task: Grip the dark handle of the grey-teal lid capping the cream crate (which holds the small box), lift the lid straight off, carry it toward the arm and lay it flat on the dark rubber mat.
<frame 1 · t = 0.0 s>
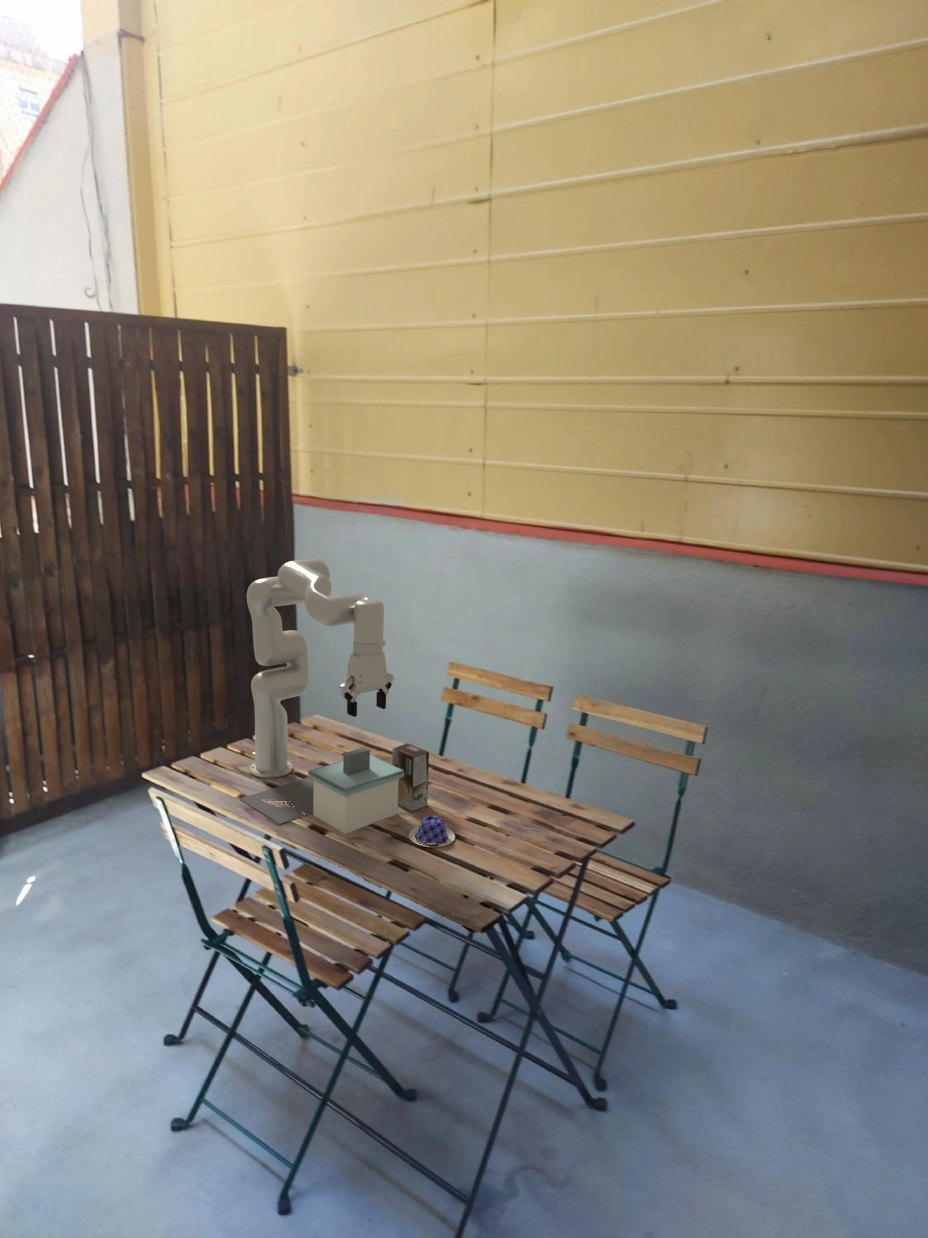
hand: (366, 711, 216), 31 cm above the table, fingers open, 9 cm apart
mat: (296, 799, 234), on the table
lid: (356, 777, 224), point 11 cm above the table, touching crate
crate: (355, 814, 226), on the table
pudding: (431, 839, 216), on the table
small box: (355, 815, 227), resting in crate
coffee box: (409, 804, 235), on the table
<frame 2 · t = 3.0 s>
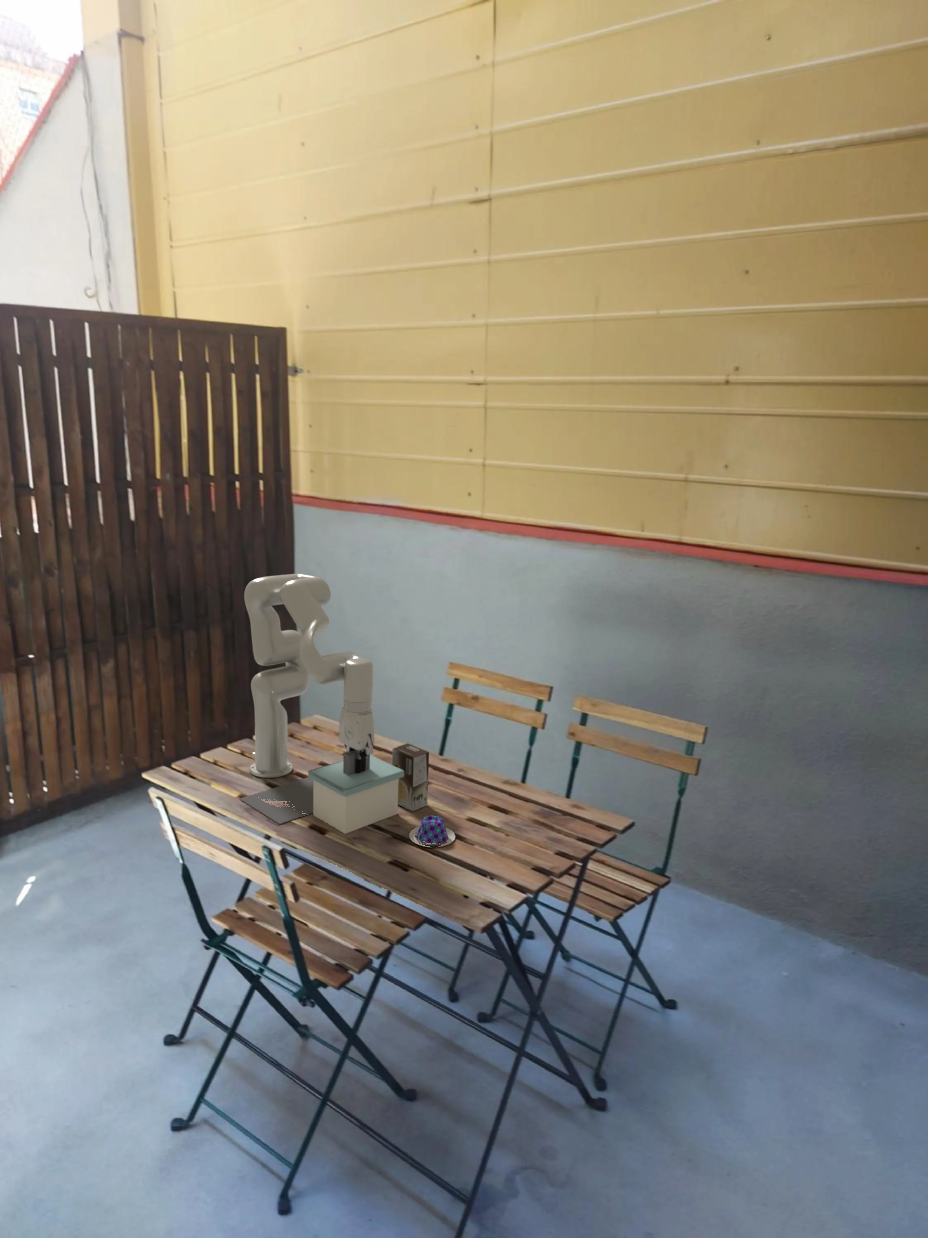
hand: (356, 769, 224), 13 cm above the table, fingers closed on lid, 2 cm apart
lid: (356, 777, 224), point 11 cm above the table, touching crate, gripper
everything else where it was.
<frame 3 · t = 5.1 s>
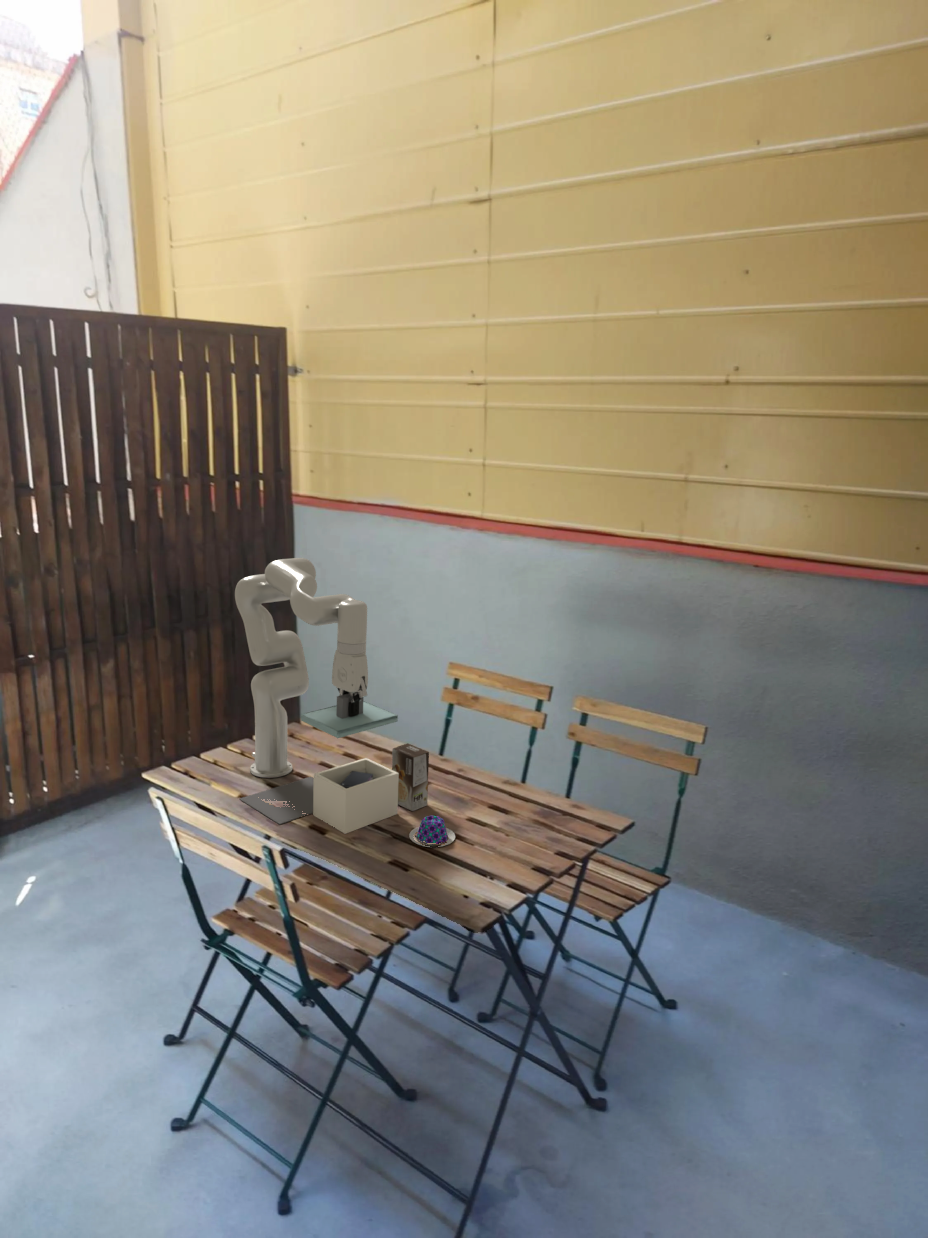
hand: (349, 713, 221), 29 cm above the table, fingers closed on lid, 2 cm apart
lid: (349, 721, 222), point 26 cm above the table, touching gripper
everything else where it was.
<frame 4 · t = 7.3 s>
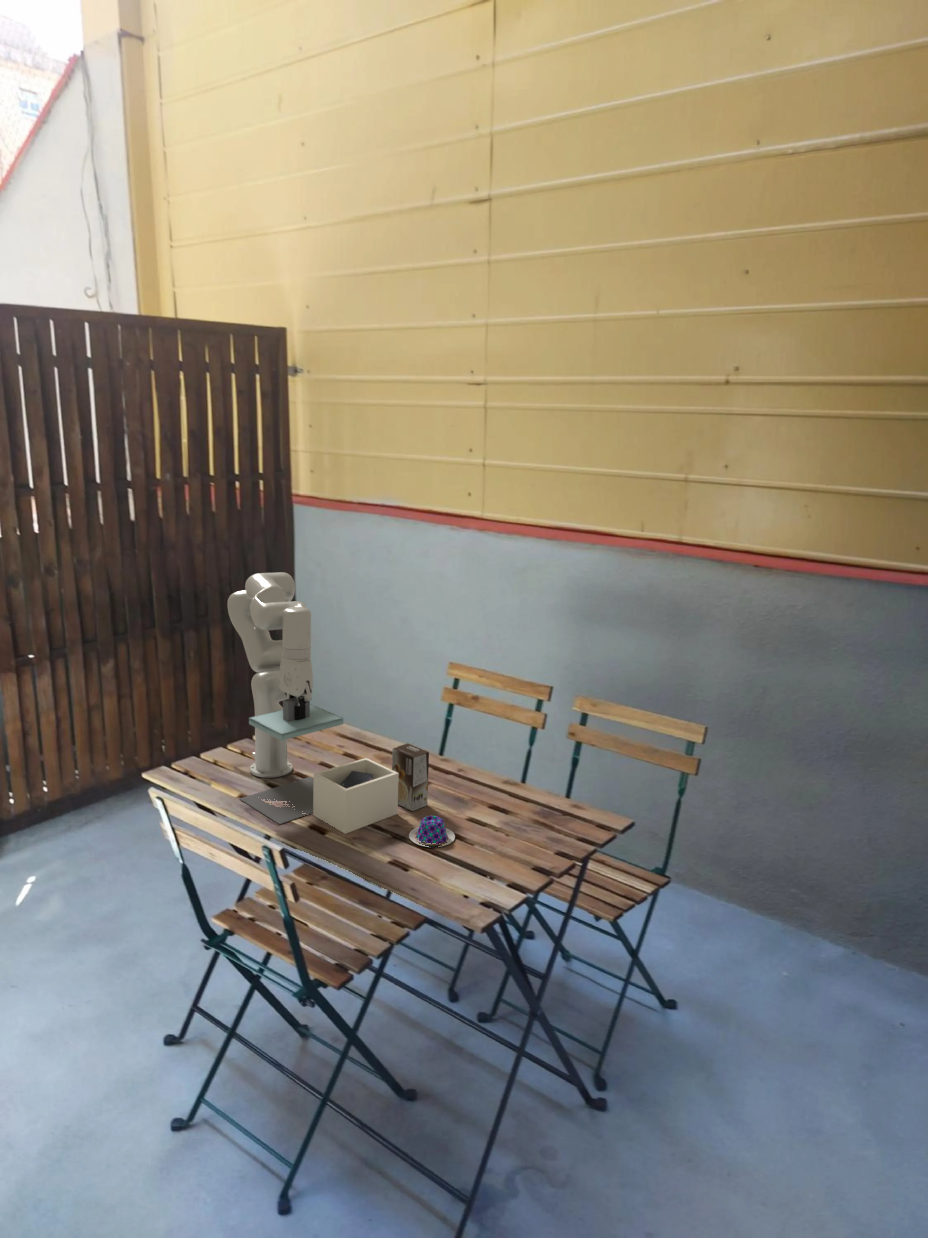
hand: (296, 716, 228), 25 cm above the table, fingers closed on lid, 2 cm apart
lid: (296, 724, 229), point 23 cm above the table, touching gripper
everything else where it was.
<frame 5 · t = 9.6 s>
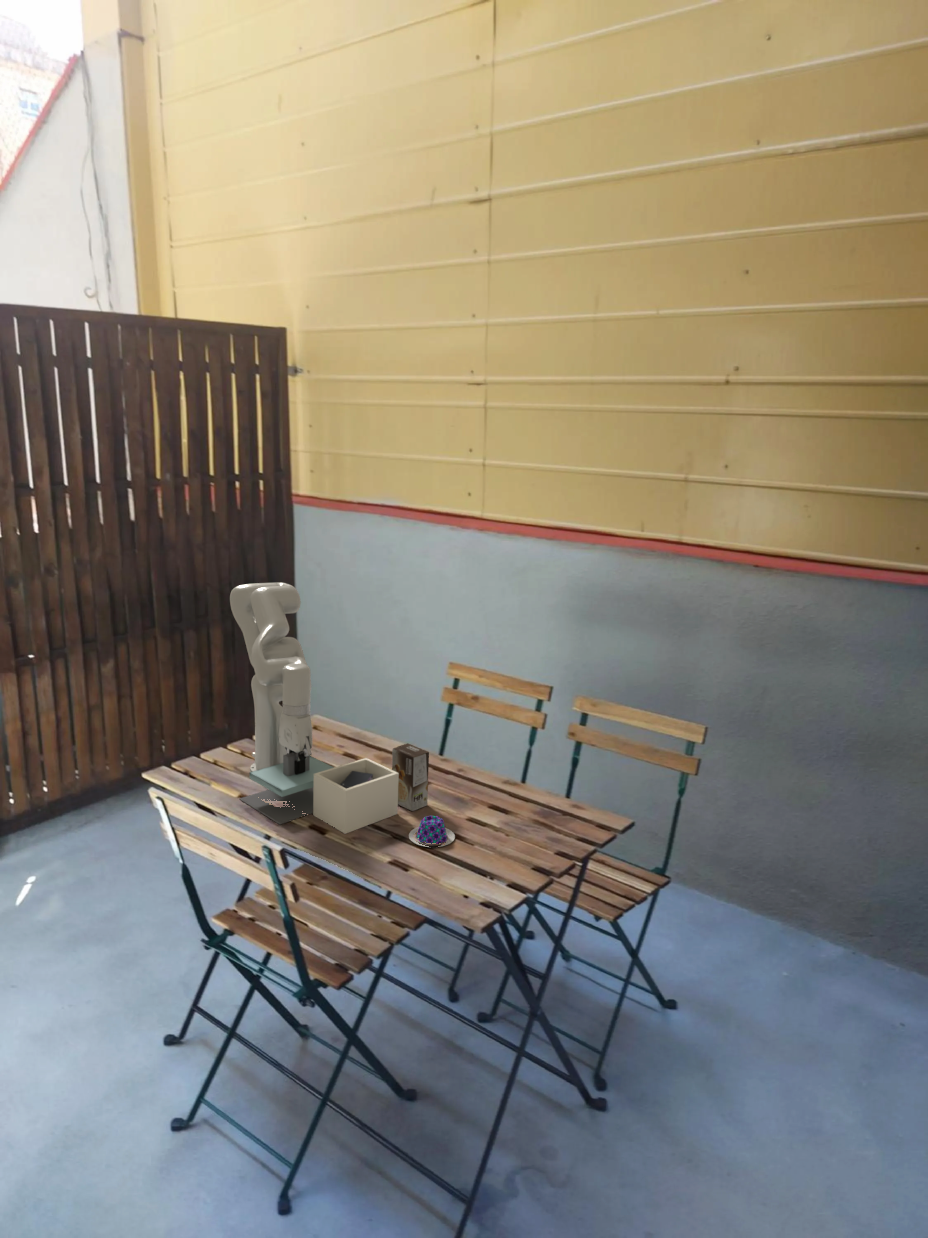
hand: (296, 771, 232), 9 cm above the table, fingers closed on lid, 2 cm apart
lid: (296, 778, 232), point 7 cm above the table, touching gripper
everything else where it was.
when the fingers open (4 cm above the table, at t = 11.5 s): lid drops 1 cm, resting on mat.
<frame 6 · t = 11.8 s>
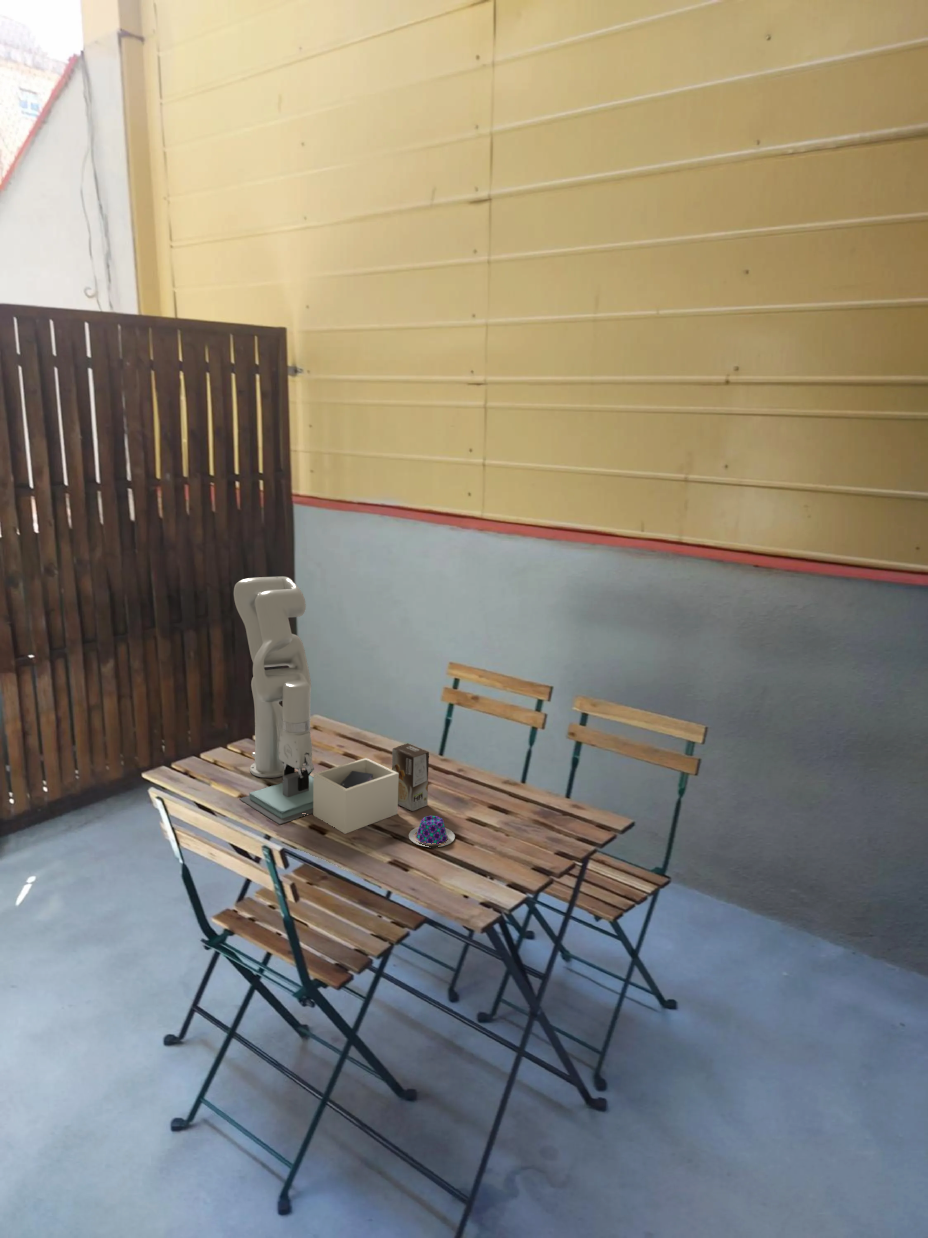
hand: (296, 785, 233), 4 cm above the table, fingers open, 6 cm apart
lid: (295, 798, 234), resting on mat
everything else where it was.
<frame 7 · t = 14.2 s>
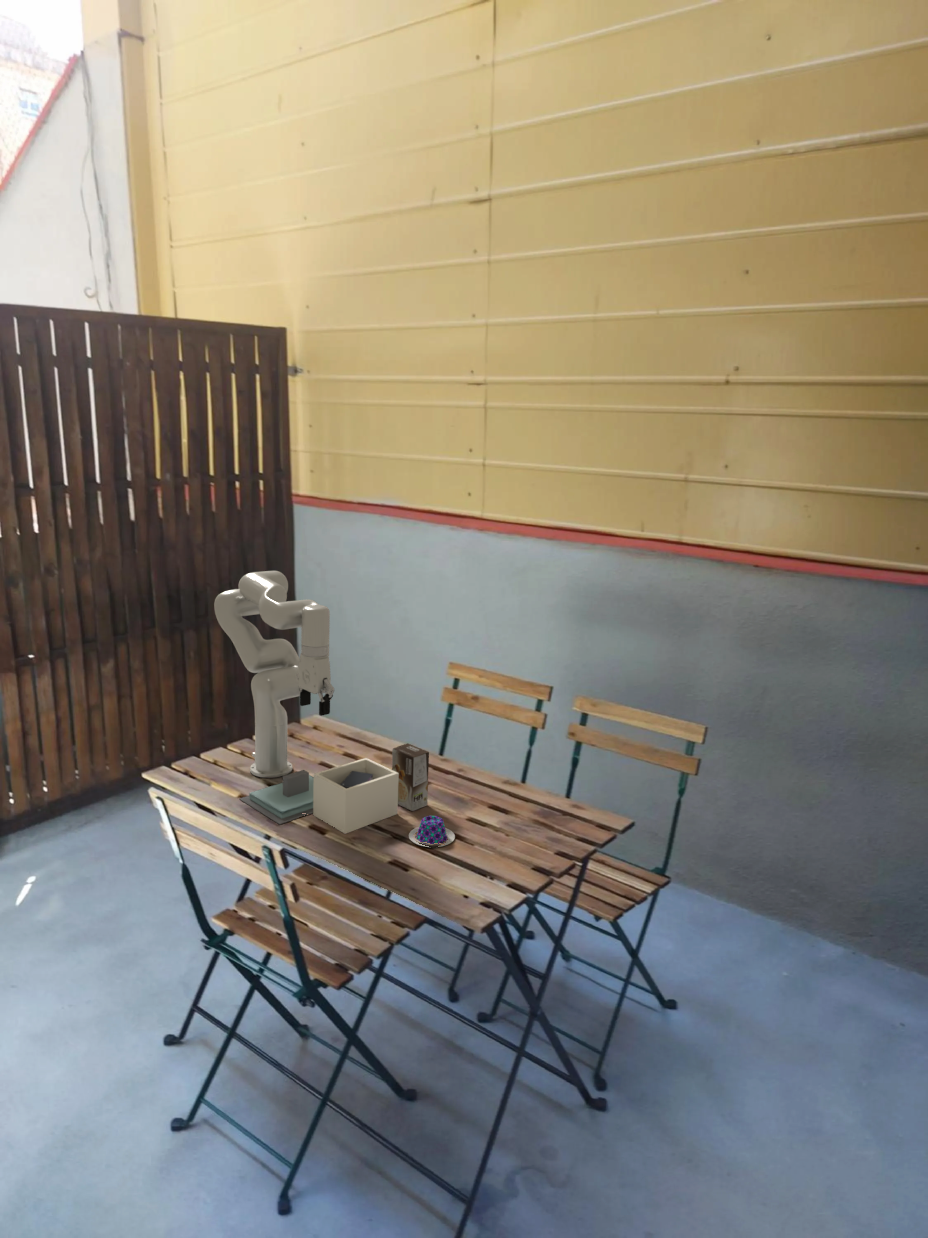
hand: (314, 709, 231), 26 cm above the table, fingers open, 9 cm apart
nothing on the table moved.
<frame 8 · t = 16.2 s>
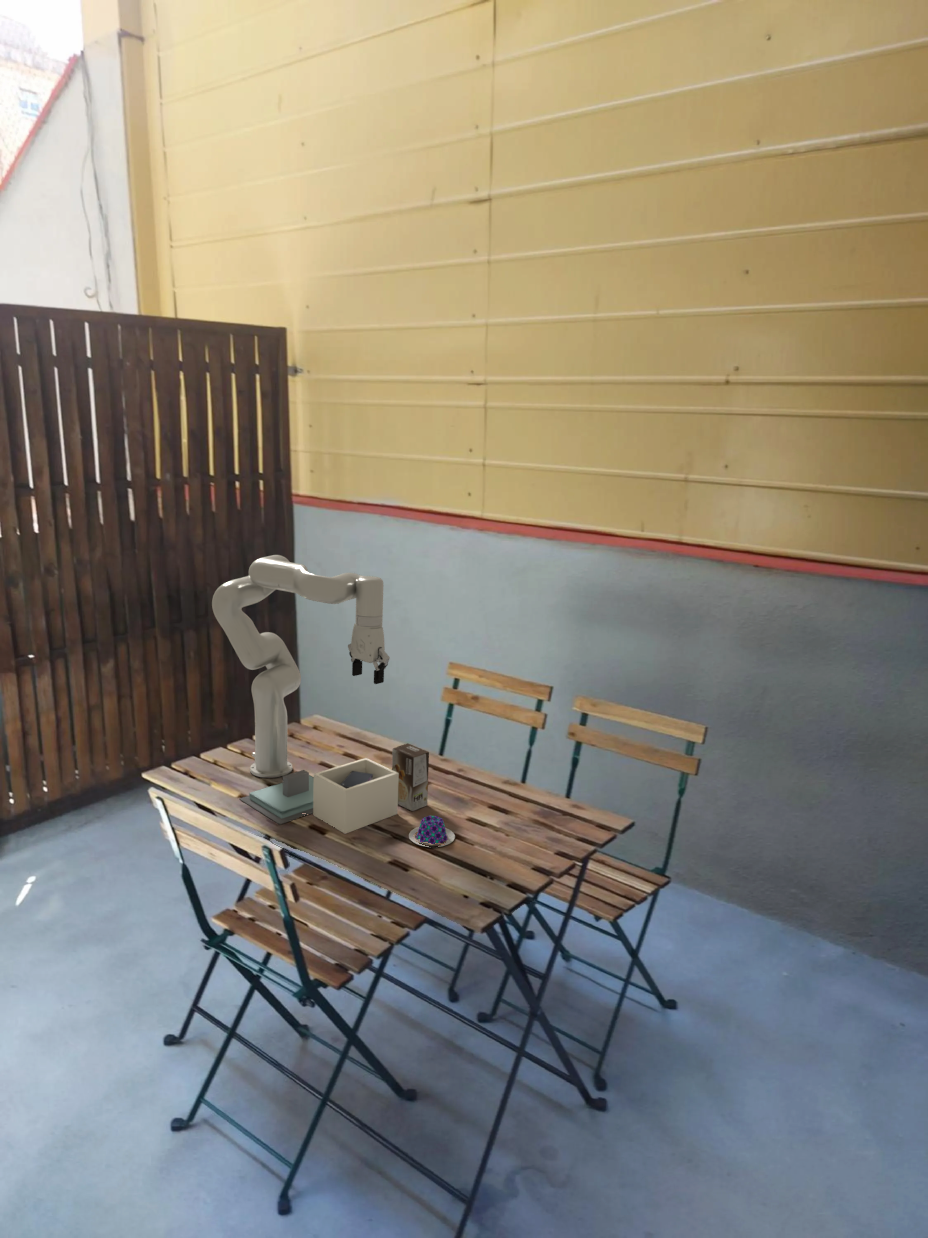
hand: (367, 679, 236), 33 cm above the table, fingers open, 9 cm apart
nothing on the table moved.
at the end: lid inside the target area (0.2 cm from its centre), resting on mat; lid tilted 0°; the gripper is holding nothing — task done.
